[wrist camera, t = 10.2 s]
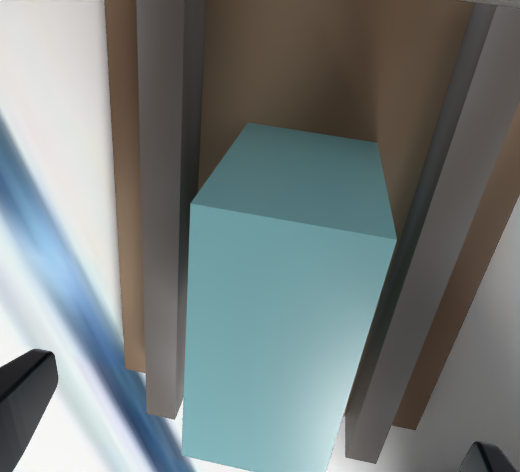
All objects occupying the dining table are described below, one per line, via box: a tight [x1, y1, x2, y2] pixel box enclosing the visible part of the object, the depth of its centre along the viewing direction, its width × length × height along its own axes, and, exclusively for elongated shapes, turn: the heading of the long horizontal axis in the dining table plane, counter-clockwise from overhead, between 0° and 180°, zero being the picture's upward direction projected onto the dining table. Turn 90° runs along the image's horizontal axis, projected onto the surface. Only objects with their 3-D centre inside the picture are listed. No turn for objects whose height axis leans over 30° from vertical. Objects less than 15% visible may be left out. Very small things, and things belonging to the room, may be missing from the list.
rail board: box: [105, 0, 520, 464], centre depth 15 cm, size 13×16×3 cm
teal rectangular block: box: [182, 123, 397, 472], centre depth 13 cm, size 4×8×6 cm, turn 175°
